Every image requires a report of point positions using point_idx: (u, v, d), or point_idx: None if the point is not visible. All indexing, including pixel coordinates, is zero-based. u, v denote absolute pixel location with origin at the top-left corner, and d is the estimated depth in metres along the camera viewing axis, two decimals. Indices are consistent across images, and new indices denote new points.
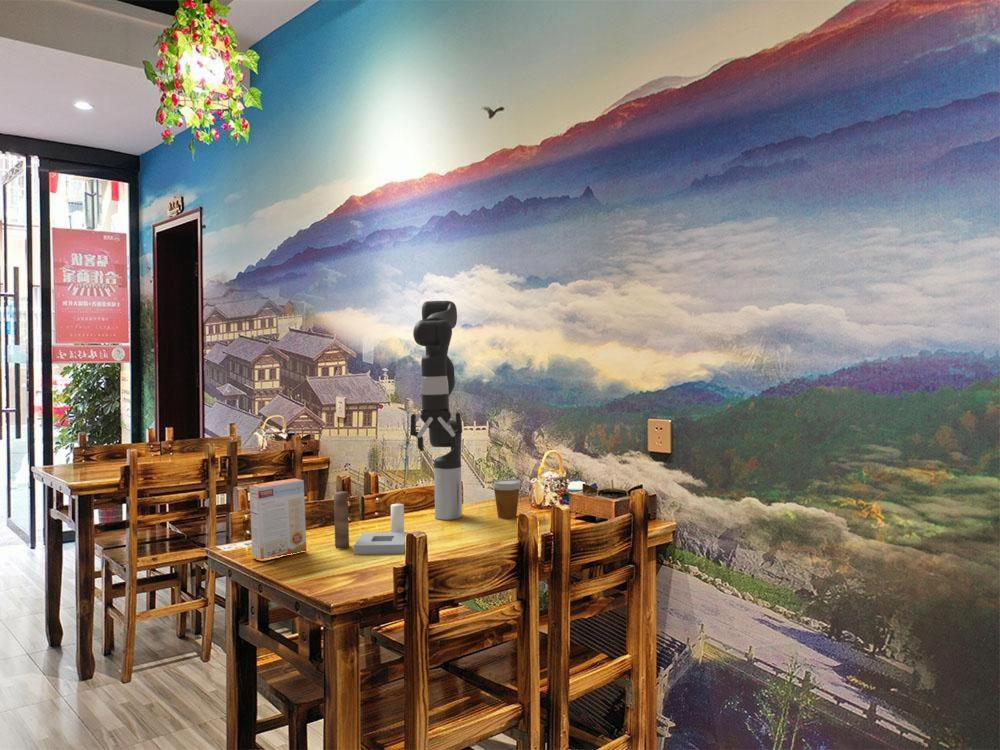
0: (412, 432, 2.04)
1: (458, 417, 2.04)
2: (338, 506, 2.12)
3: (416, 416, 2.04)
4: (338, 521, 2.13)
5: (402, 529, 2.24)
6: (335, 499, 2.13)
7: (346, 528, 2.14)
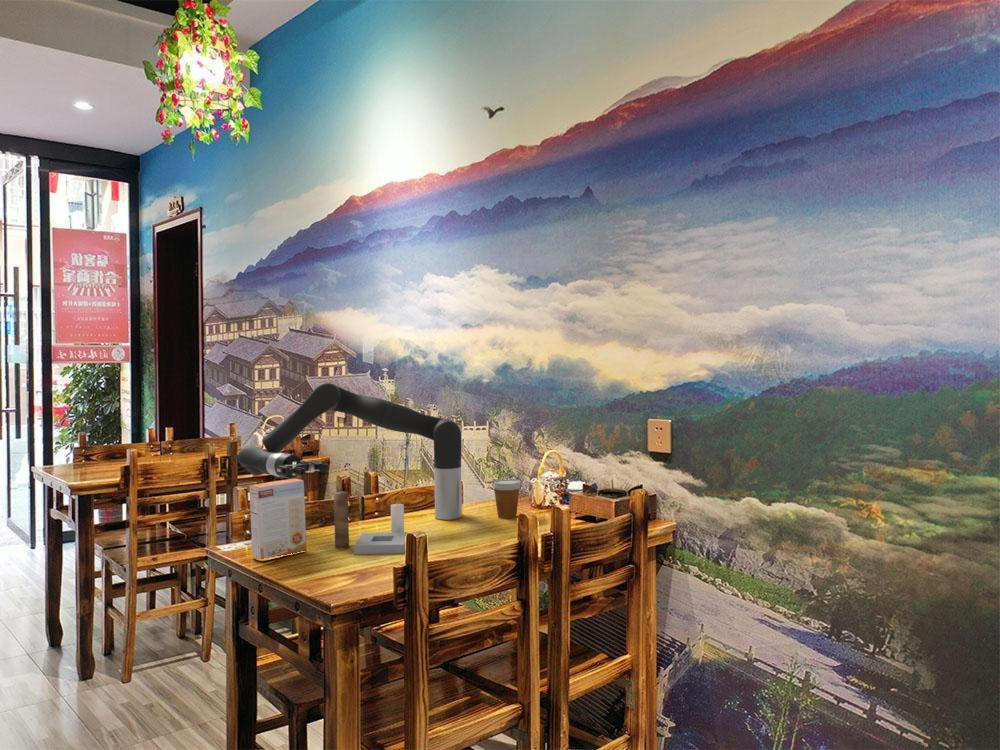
0: None
1: None
2: (338, 506, 2.12)
3: (310, 466, 2.31)
4: (338, 521, 2.13)
5: (402, 529, 2.24)
6: (335, 499, 2.13)
7: (346, 528, 2.14)
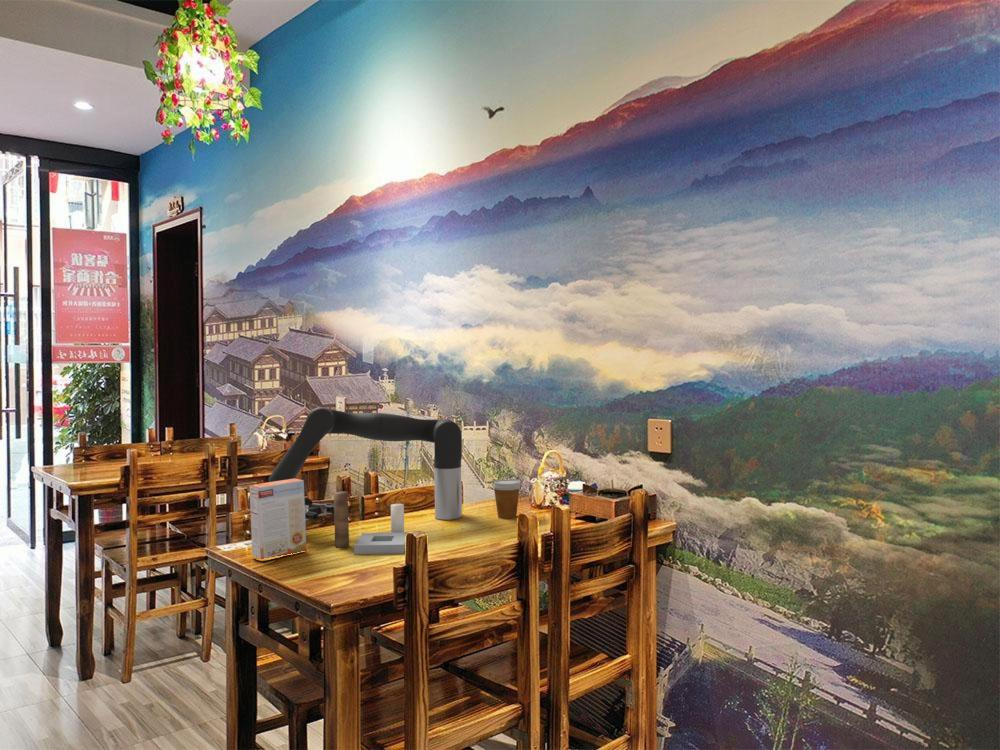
0: None
1: None
2: (338, 506, 2.12)
3: (323, 508, 2.29)
4: (338, 521, 2.13)
5: (402, 529, 2.24)
6: (335, 499, 2.13)
7: (346, 528, 2.14)
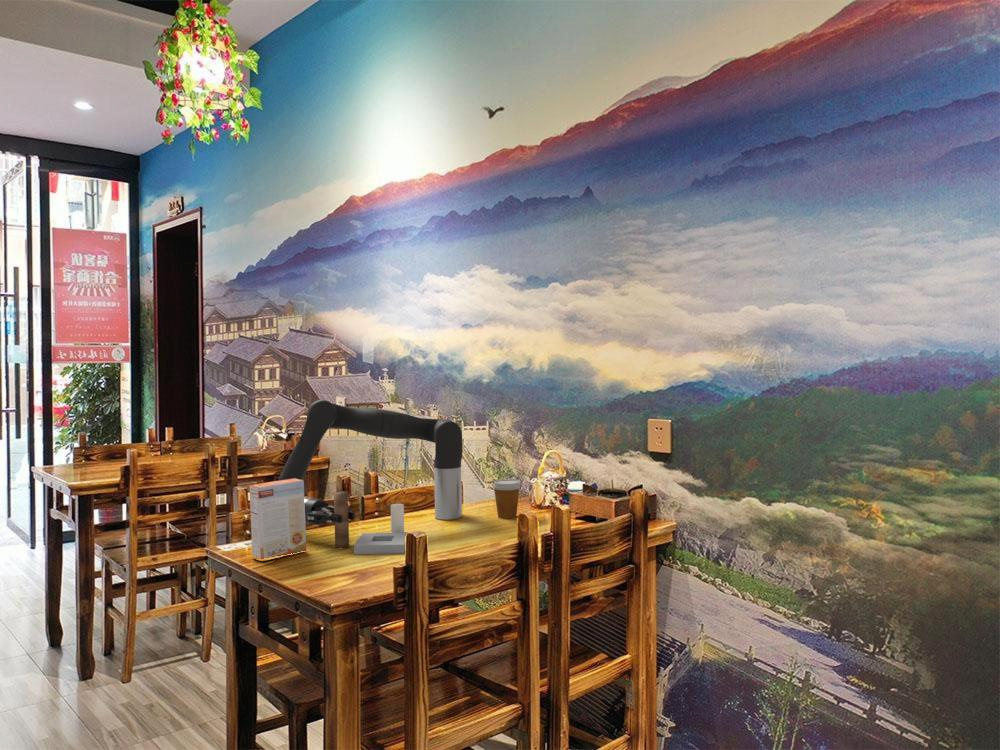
0: None
1: None
2: (338, 506, 2.12)
3: None
4: None
5: (402, 529, 2.24)
6: (335, 499, 2.13)
7: (346, 528, 2.14)
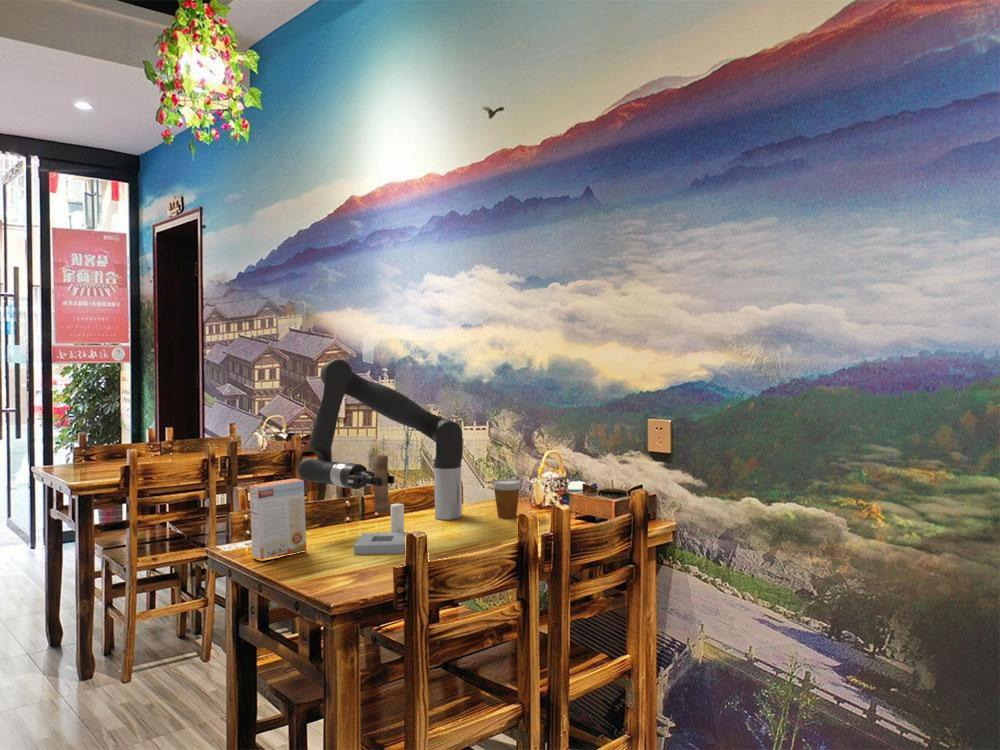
0: None
1: None
2: (378, 470, 2.11)
3: None
4: None
5: (402, 529, 2.24)
6: (375, 462, 2.12)
7: (386, 492, 2.12)
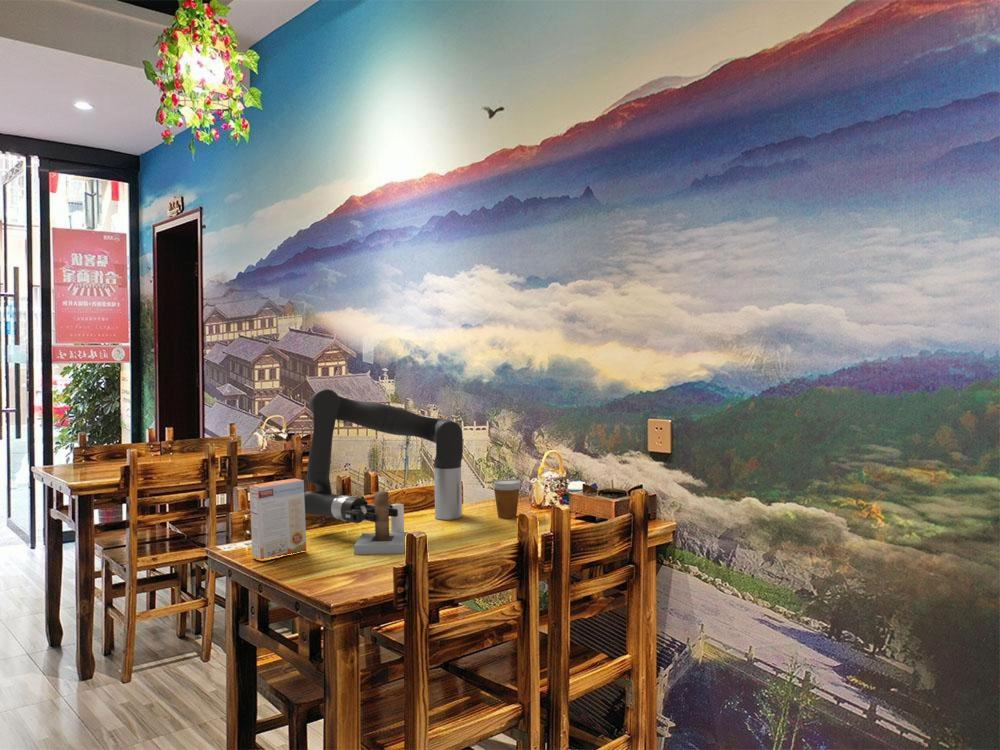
0: None
1: None
2: (379, 506, 2.12)
3: None
4: (379, 521, 2.12)
5: (402, 529, 2.24)
6: (376, 499, 2.12)
7: (387, 528, 2.13)
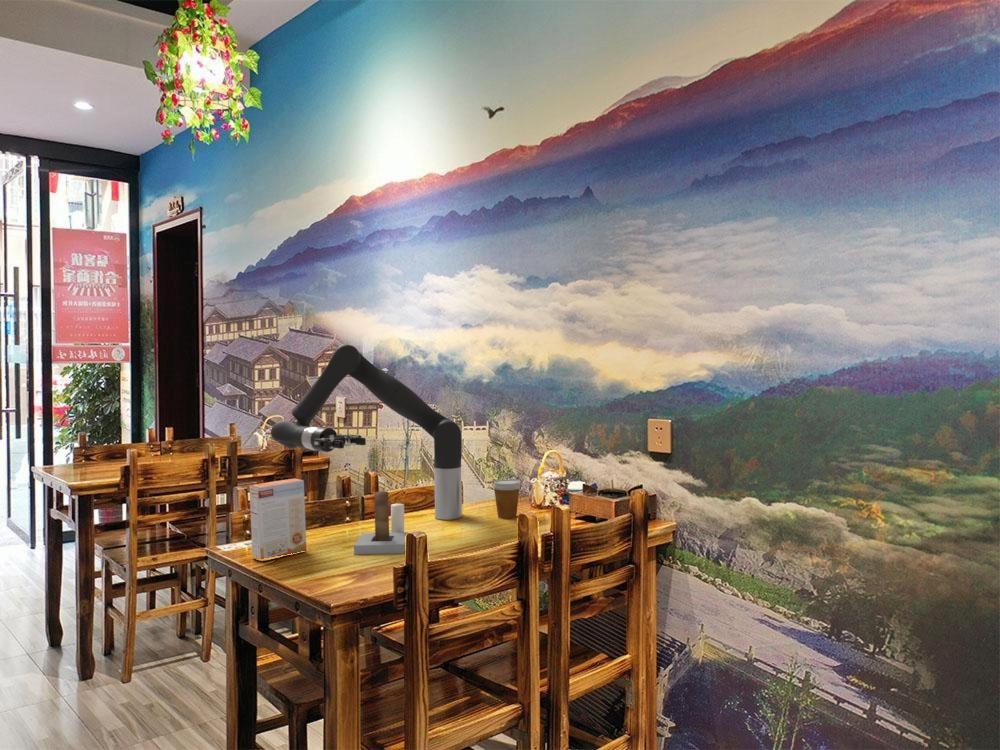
0: None
1: (317, 447, 2.21)
2: (379, 506, 2.12)
3: None
4: (379, 521, 2.12)
5: (402, 529, 2.24)
6: (376, 499, 2.12)
7: (387, 528, 2.13)
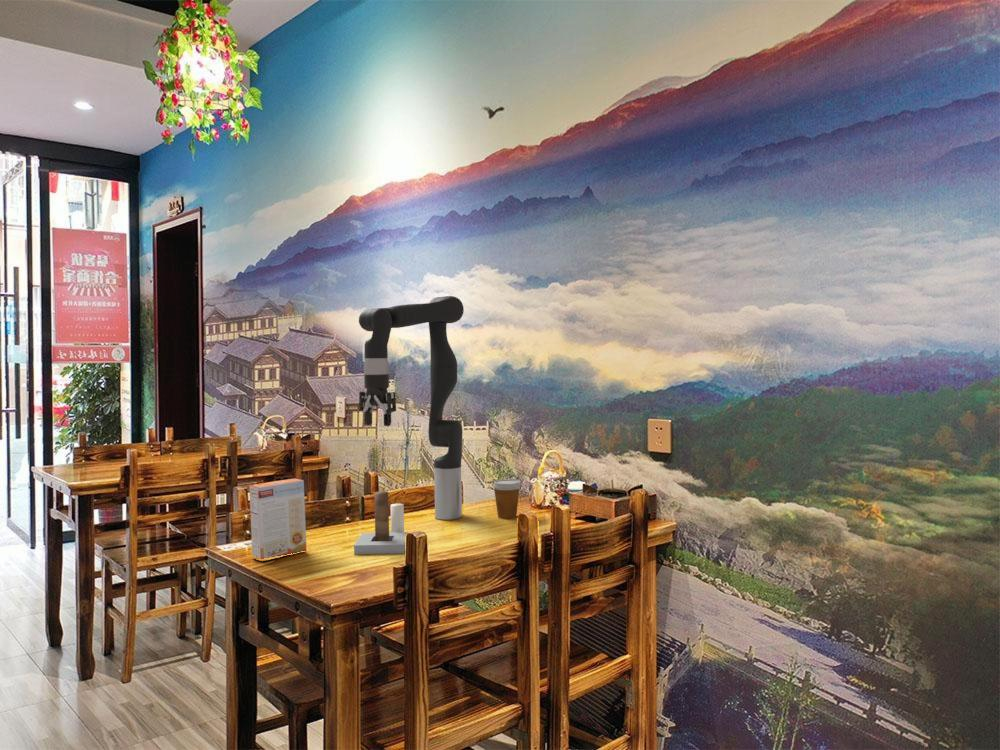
0: (360, 407, 2.31)
1: (388, 396, 2.23)
2: (379, 506, 2.12)
3: (364, 393, 2.30)
4: (379, 521, 2.12)
5: (402, 529, 2.24)
6: (376, 499, 2.12)
7: (387, 528, 2.13)
